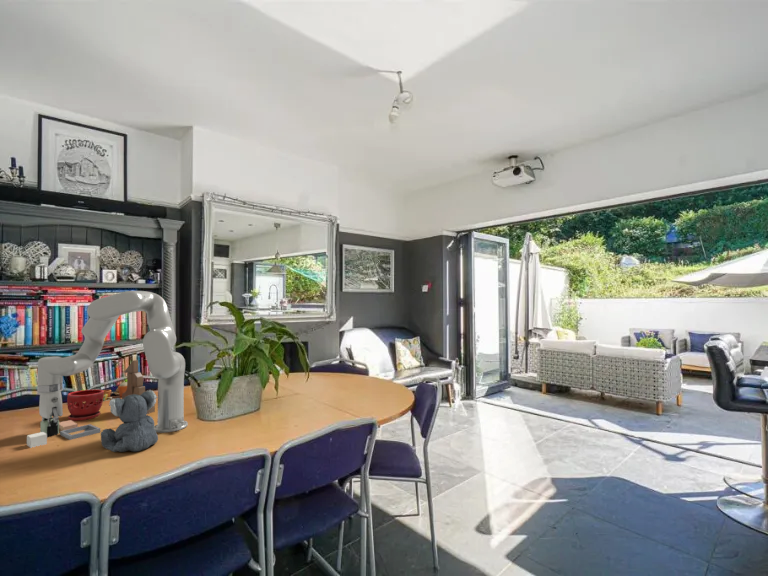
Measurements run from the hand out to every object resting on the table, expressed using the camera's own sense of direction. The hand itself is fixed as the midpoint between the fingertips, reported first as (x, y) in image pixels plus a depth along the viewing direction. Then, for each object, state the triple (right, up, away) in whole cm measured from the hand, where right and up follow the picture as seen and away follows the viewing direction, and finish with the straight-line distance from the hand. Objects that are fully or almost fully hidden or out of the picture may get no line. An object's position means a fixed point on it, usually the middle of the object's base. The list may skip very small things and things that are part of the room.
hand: (49, 433), depth 151 cm
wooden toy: (+15, -2, +31) cm, 34 cm away
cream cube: (+5, -1, -11) cm, 12 cm away
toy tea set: (-18, -3, +57) cm, 59 cm away
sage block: (0, -1, 0) cm, 1 cm away
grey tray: (+11, -1, +1) cm, 11 cm away
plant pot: (-3, -2, +22) cm, 23 cm away
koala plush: (+41, 0, -11) cm, 42 cm away
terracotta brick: (+1, -1, +7) cm, 7 cm away
